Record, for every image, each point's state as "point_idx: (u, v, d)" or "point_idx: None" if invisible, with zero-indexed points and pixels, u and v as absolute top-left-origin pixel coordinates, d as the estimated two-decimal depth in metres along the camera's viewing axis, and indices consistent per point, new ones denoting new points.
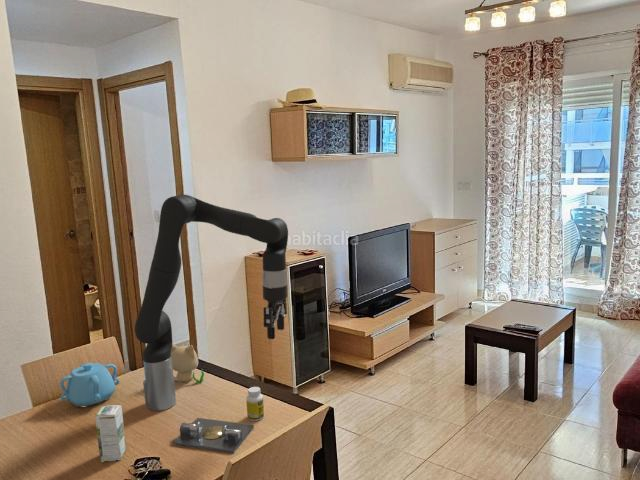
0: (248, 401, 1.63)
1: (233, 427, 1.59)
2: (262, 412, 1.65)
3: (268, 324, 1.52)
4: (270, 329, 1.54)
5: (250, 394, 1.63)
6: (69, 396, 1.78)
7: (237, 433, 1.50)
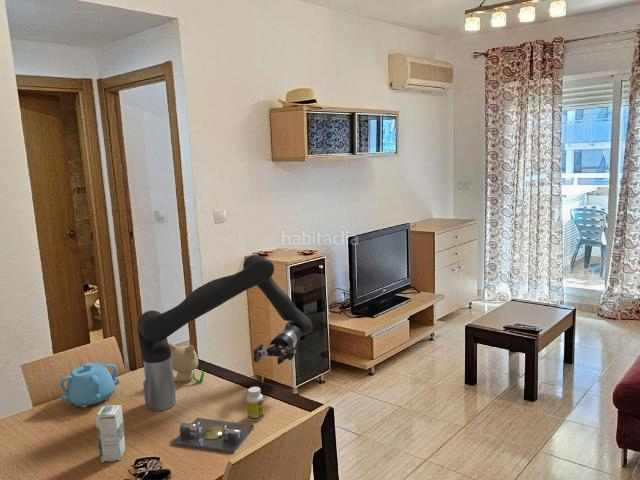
0: (248, 401, 1.63)
1: (233, 427, 1.59)
2: (262, 412, 1.65)
3: None
4: (284, 358, 1.76)
5: (250, 394, 1.63)
6: (69, 396, 1.78)
7: (237, 433, 1.50)
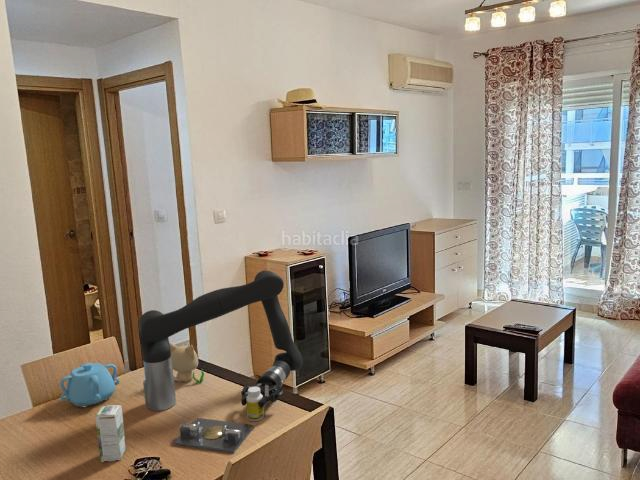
0: (248, 401, 1.63)
1: (233, 427, 1.59)
2: (262, 412, 1.65)
3: (274, 398, 1.66)
4: (267, 400, 1.65)
5: (250, 394, 1.63)
6: (69, 396, 1.78)
7: (237, 433, 1.50)
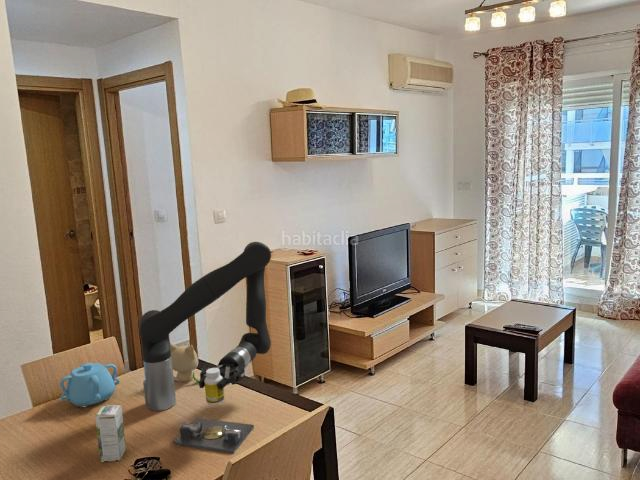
0: (206, 383, 1.51)
1: (233, 427, 1.59)
2: (222, 395, 1.52)
3: (235, 380, 1.54)
4: (226, 382, 1.52)
5: (208, 375, 1.51)
6: (69, 396, 1.78)
7: (237, 433, 1.50)
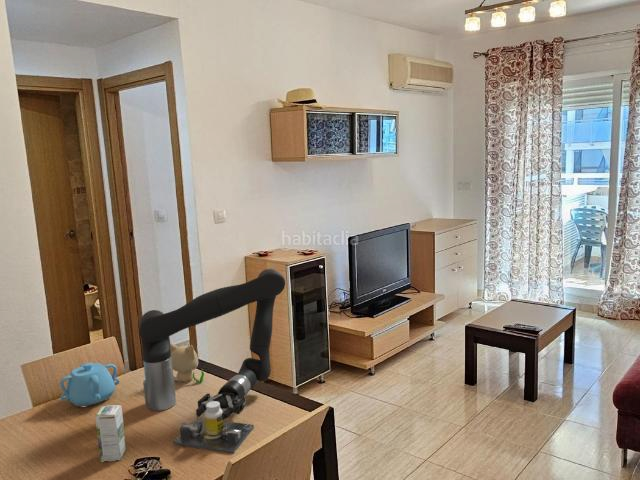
0: (206, 417, 1.52)
1: (233, 427, 1.59)
2: (221, 428, 1.54)
3: None
4: (231, 412, 1.53)
5: (208, 409, 1.52)
6: (69, 396, 1.78)
7: (237, 433, 1.50)
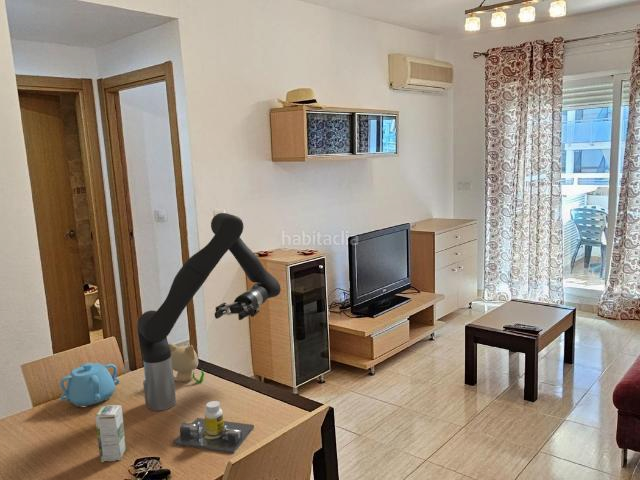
0: (206, 417, 1.52)
1: (233, 427, 1.59)
2: (221, 428, 1.54)
3: None
4: (246, 314, 1.70)
5: (208, 409, 1.52)
6: (69, 396, 1.78)
7: (237, 433, 1.50)
